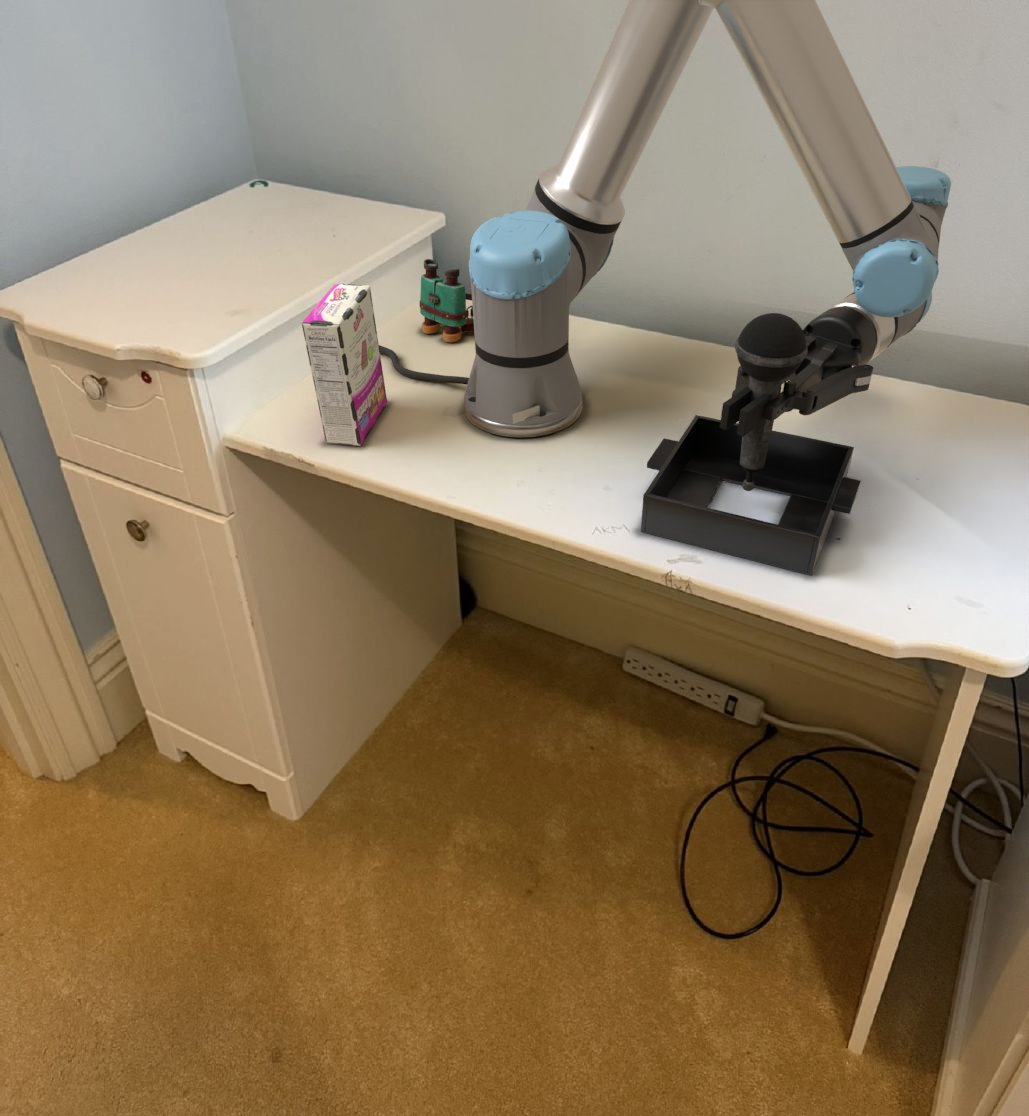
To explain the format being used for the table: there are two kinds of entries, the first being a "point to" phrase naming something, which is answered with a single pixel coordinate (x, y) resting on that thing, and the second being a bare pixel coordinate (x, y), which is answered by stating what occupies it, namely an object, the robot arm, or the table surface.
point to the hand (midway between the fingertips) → (733, 420)
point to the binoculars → (444, 303)
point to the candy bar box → (345, 363)
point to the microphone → (767, 375)
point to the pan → (789, 469)
